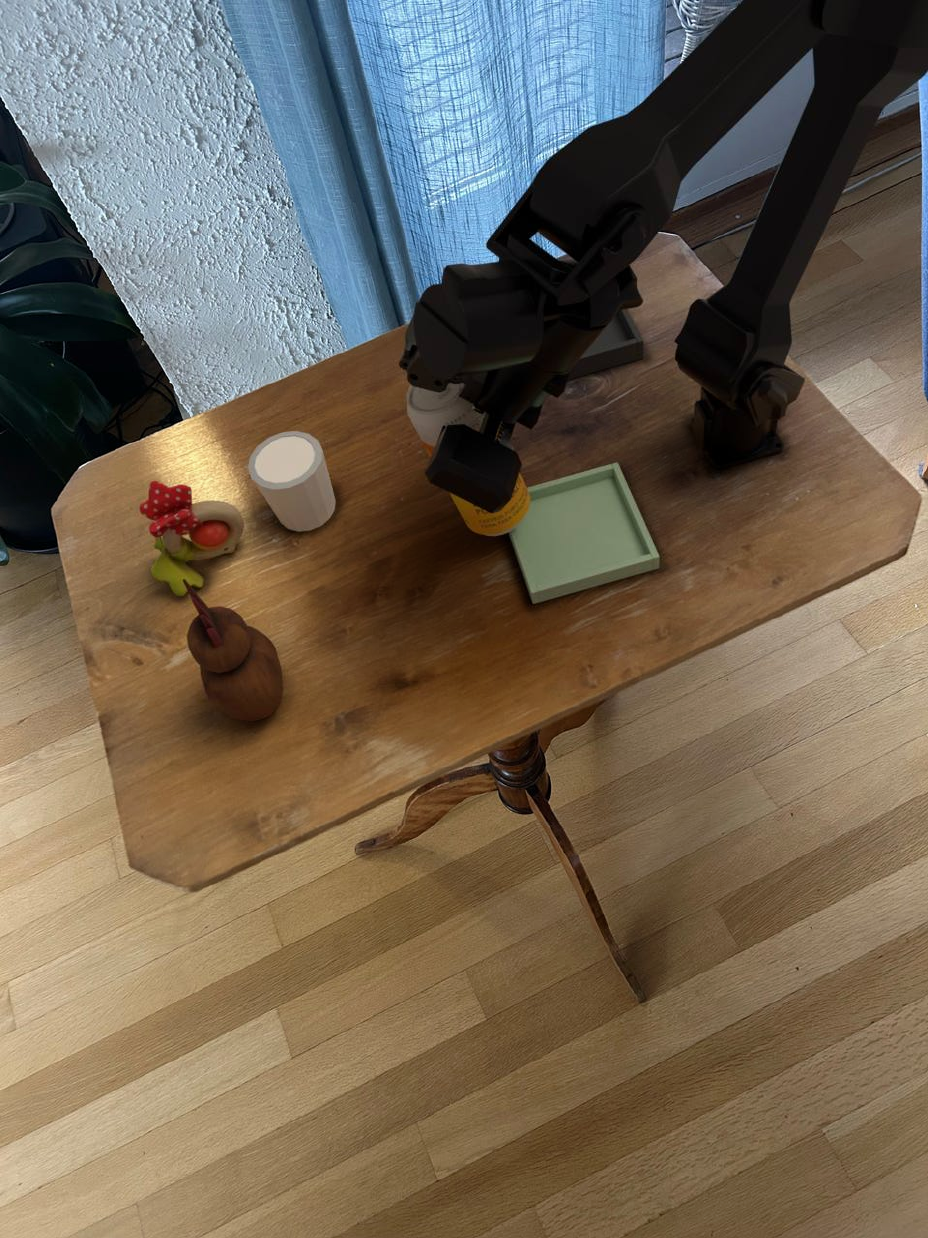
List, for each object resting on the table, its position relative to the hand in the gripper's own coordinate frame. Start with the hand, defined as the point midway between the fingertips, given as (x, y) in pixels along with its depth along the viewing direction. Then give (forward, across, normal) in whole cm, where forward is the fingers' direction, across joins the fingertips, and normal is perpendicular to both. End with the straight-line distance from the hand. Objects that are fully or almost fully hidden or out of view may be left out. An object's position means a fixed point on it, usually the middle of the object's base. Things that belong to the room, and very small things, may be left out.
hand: (455, 454), depth 82 cm
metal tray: (+6, -25, +9) cm, 27 cm away
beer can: (+4, 0, +6) cm, 8 cm away
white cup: (+17, 0, -8) cm, 19 cm away
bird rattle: (+21, +8, -14) cm, 27 cm away
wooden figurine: (+16, +20, -6) cm, 26 cm away
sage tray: (+3, 0, +13) cm, 14 cm away
